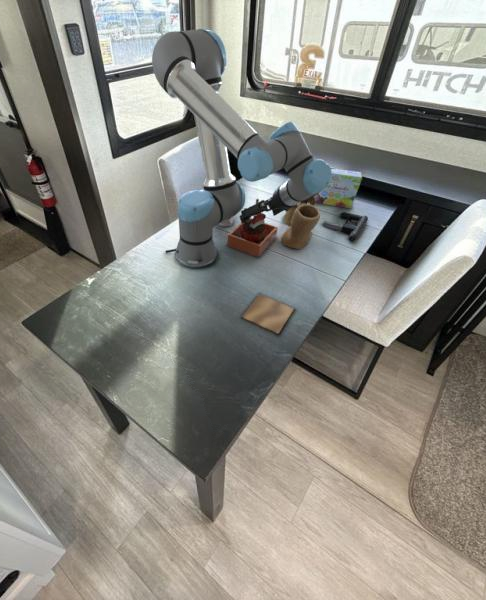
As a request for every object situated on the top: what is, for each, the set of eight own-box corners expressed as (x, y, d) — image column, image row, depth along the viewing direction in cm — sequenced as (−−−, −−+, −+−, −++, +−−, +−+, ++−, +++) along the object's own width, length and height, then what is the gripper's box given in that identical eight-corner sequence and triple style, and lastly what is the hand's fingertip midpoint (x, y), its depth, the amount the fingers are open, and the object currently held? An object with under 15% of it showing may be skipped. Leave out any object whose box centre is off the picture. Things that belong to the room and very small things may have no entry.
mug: (231, 227, 131) (232, 212, 127) (216, 225, 132) (216, 211, 127) (234, 215, 138) (235, 201, 134) (219, 213, 139) (219, 199, 134)
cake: (252, 232, 129) (258, 190, 116) (269, 242, 124) (277, 199, 111) (234, 241, 124) (237, 198, 111) (250, 252, 119) (256, 208, 106)
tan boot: (304, 255, 118) (314, 219, 108) (275, 244, 123) (282, 209, 112) (319, 237, 127) (329, 202, 116) (292, 227, 132) (300, 193, 121)
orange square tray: (227, 245, 122) (227, 234, 118) (245, 227, 131) (247, 217, 128) (258, 257, 117) (260, 246, 113) (275, 237, 126) (277, 227, 123)
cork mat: (241, 317, 95) (241, 316, 95) (259, 294, 102) (259, 293, 102) (278, 334, 91) (278, 333, 90) (293, 309, 98) (294, 308, 97)
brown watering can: (311, 230, 130) (323, 189, 118) (280, 222, 135) (288, 181, 122) (316, 220, 136) (328, 180, 123) (286, 213, 140) (295, 173, 128)
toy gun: (319, 226, 128) (359, 237, 121) (334, 207, 140) (372, 215, 133) (317, 233, 130) (357, 244, 123) (332, 214, 142) (369, 222, 135)
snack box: (304, 202, 148) (312, 170, 137) (305, 196, 152) (312, 165, 141) (351, 209, 144) (362, 176, 133) (350, 203, 148) (362, 171, 137)
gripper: (256, 214, 91) (230, 233, 111) (325, 199, 98) (288, 218, 118) (249, 189, 90) (224, 212, 111) (319, 175, 98) (283, 199, 118)
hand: (257, 215), depth 114 cm, fingers open, 13 cm apart
